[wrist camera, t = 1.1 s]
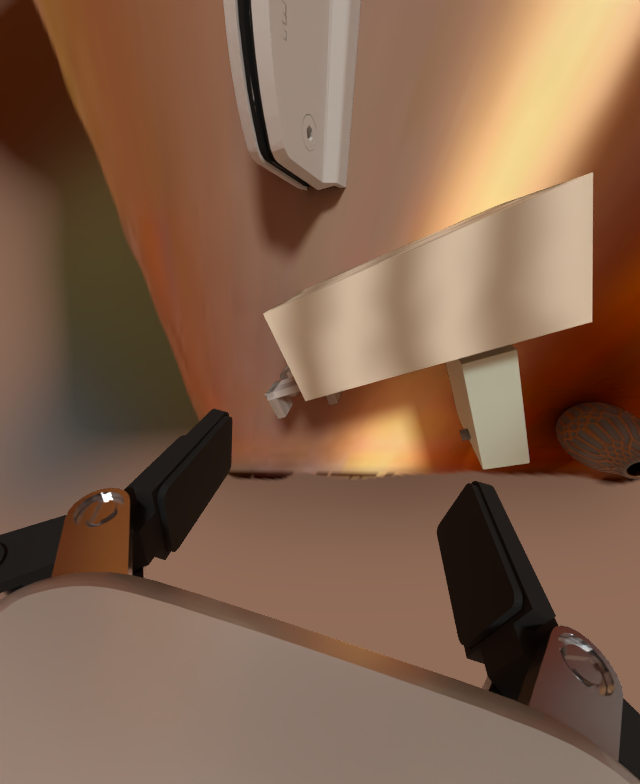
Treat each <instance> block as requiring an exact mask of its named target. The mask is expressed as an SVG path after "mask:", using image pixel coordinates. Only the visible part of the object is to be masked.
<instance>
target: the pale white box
mask: <svg viewBox="0 0 640 784" xmlns="http://www.w3.org/2000/svg"><path fill="white" fill-rule="evenodd" d="M445 363H446V367H447V371H448V376H449V380H450V384H451V389H452V393H453V397H454V402H455V406H456V411H457V415H458V417H459V419H460V422H461V424H462V426H463V428H464V429H463V430H459V431H460V435H461V438H462V440H463V441H464V440H469V441H470V443H471V445H472V447H473V449H474V451H475V453H476V455H477V458H478V460H479V462H480V464H481V466H482V468H483V470H484V469H491V468H498V467H506V466H513V465H520V464H527V463H530V461H529V452H528V443H527V434H526V425H525V416H524V407H523V398H522V389H521V380H520V371H519V363H518V354H517V349H516V348H514V347H513V346H512V345H507V346H503V347H500V348H496V349H492V350H489V351H485V352H481V353H478V354H474V355H471V356H467V357H463V358H460V359H456V360H453V361H449V362H445Z"/></svg>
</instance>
